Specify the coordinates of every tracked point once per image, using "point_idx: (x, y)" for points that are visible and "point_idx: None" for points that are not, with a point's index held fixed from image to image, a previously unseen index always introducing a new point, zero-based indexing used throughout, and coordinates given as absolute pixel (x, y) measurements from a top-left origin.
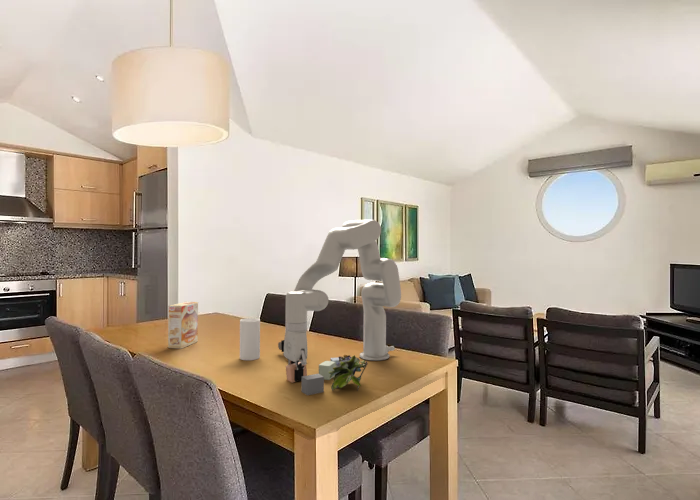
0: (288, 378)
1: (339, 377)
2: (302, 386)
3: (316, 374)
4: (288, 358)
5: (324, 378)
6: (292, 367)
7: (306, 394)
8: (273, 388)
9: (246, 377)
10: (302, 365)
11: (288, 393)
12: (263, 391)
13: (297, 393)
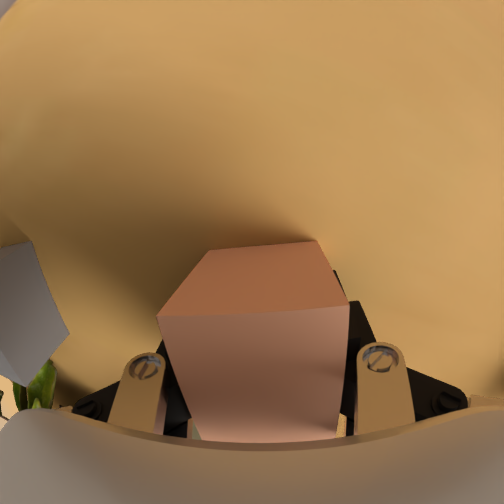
0: (279, 250)
1: (22, 408)
2: (2, 256)
3: (11, 373)
4: (246, 457)
5: None
6: (187, 352)
7: (2, 247)
8: (125, 65)
9: (481, 8)
10: (68, 411)
11: (22, 161)
12: (104, 3)
13: (16, 211)
